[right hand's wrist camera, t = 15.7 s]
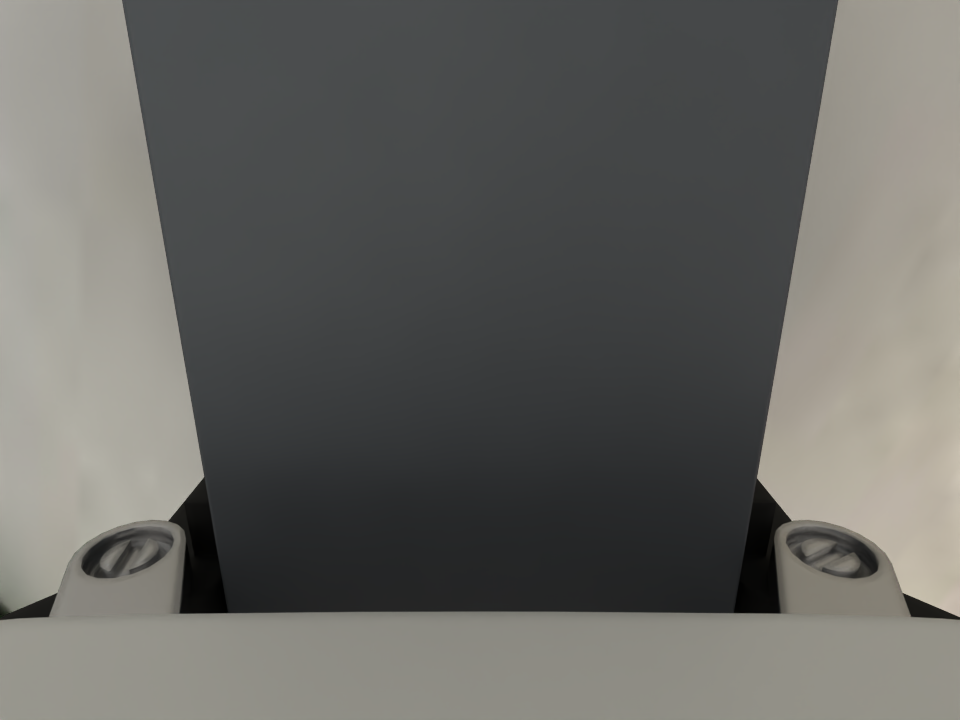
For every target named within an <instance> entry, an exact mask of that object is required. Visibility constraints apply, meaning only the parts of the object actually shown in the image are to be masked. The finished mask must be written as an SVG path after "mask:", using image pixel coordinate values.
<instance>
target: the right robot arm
mask: <svg viewBox="0 0 960 720" xmlns="http://www.w3.org/2000/svg"><path fill="white" fill-rule="evenodd" d="M0 720H960V617H958V616H955V615H953V614H951V613H948V612H946V611H944V610H941V609H939V608H937V607H934V606H932V605H930V604H927V603H925V602H923V601H920V600H918V599H916V598H913V597H911V596H909V595H906V594H904V593H902V591H901V588H900V585H899V582H898V580H897V577H896V574H895V571H894V569H893V566H892V563H891V562H890V560H889V558H888V557H887V555H886V554H885V552H883V551H882V550H881V549H880V548H879V547H878V546H877V545H876V544H874V543H873V542H872V541H870V540H868V539H867V538H865V537H863V536H862V535H860V534H858V533H856V532H853V531H851V530H849V529H846V528H844V527H841V526H837V525H834V524H830V523H826V522H820V521H812V520H799V521H791V519H790V518H789V517H788V516H787V515H786V513H785V512H784V511H783V510H782V508H781V507H780V506H779V505H778V504H777V502H776V501H775V500H774V499H773V497H772V496H771V495H770V494H769V493H768V491H767V490H766V489H765V488H764V486H763V485H762V484H761V483H760V482H759V480H758V479H757V480H756V486H755V491H754V497H753V503H752V509H751V515H750V521H749V527H748V533H747V538H746V544H745V550H744V556H743V562H742V568H741V574H740V580H739V585H738V591H737V597H736V603H735V609H734V613H643V612H303V613H228V610H227V604H226V599H225V593H224V587H223V581H222V575H221V570H220V564H219V558H218V552H217V546H216V541H215V535H214V529H213V523H212V517H211V512H210V506H209V500H208V494H207V489H206V483H205V477H204V478H203V480H202V481H201V482H200V483H199V484H198V486H197V487H196V488H195V489H194V491H193V492H192V493H191V494H190V495H189V497H188V498H187V499H186V500H185V502H184V503H183V504H182V505H181V506H180V508H179V509H178V510H177V511H176V513H175V514H174V515H173V516H172V517H171V519H170V520H169V521H161V520H148V521H140V522H134V523H130V524H126V525H123V526H119V527H116V528H114V529H111V530H109V531H107V532H104V533H102V534H100V535H98V536H97V537H95V538H93V539H92V540H90V541H88V542H87V543H86V544H84V545H83V546H82V547H81V548H80V549H79V550H78V551H77V552H75V554H74V555H73V557H72V558H71V560H70V562H69V563H68V566H67V569H66V571H65V574H64V577H63V580H62V582H61V585H60V588H59V591H58V593H56V594H54V595H52V596H49V597H47V598H45V599H42V600H40V601H38V602H35V603H33V604H31V605H28V606H26V607H24V608H21V609H19V610H17V611H14V612H12V613H9V614H7V615H5V616H2V617H0Z"/></svg>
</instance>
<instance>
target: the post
mask: <svg viewBox="0 0 960 720" xmlns="http://www.w3.org/2000/svg"><path fill="white" fill-rule="evenodd" d="M122 2H123V7H124V13H125V19H126V25H127V31H128V36H129V42H130V48H131V54H132V60H133V65H134V71H135V77H136V83H137V89H138V94H139V100H140V106H141V112H142V118H143V123H144V129H145V135H146V141H147V147H148V152H149V158H150V164H151V170H152V175H153V181H154V187H155V193H156V199H157V204H158V210H159V216H160V222H161V228H162V233H163V239H164V245H165V251H166V257H167V262H168V268H169V274H170V280H171V286H172V291H173V297H174V303H175V309H176V315H177V320H178V326H179V332H180V338H181V344H182V349H183V355H184V361H185V367H186V373H187V378H188V384H189V390H190V396H191V402H192V407H193V413H194V419H195V425H196V431H197V436H198V442H199V448H200V454H201V460H202V465H203V471H204V477H205V483H206V489H207V494H208V500H209V506H210V512H211V517H212V523H213V529H214V535H215V541H216V546H217V552H218V558H219V564H220V570H221V575H222V581H223V587H224V593H225V599H226V604H227V610H228V613H303V612H643V613H734V609H735V603H736V597H737V591H738V585H739V580H740V574H741V568H742V562H743V556H744V550H745V544H746V538H747V533H748V527H749V521H750V515H751V509H752V503H753V497H754V491H755V486H756V480H757V474H758V468H759V462H760V456H761V450H762V445H763V439H764V433H765V427H766V421H767V415H768V409H769V403H770V398H771V392H772V386H773V380H774V374H775V368H776V362H777V356H778V351H779V345H780V339H781V333H782V327H783V321H784V315H785V309H786V304H787V298H788V292H789V286H790V280H791V274H792V268H793V262H794V257H795V251H796V245H797V239H798V233H799V227H800V221H801V215H802V210H803V204H804V198H805V192H806V186H807V180H808V174H809V168H810V163H811V157H812V151H813V145H814V139H815V133H816V127H817V121H818V116H819V110H820V104H821V98H822V92H823V86H824V80H825V74H826V69H827V63H828V57H829V51H830V45H831V39H832V33H833V27H834V22H835V16H836V10H837V4H838V0H122Z"/></svg>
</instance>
